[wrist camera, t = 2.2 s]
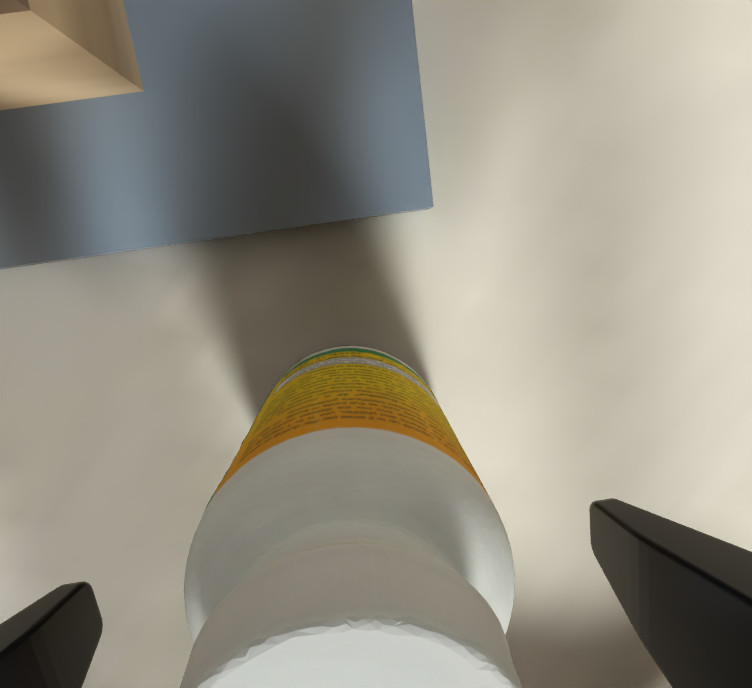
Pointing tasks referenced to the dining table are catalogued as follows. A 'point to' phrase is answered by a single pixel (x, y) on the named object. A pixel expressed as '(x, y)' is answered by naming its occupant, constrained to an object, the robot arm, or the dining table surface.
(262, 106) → the base
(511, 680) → the supplement bottle
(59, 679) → the robot arm
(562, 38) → the dining table surface
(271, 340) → the dining table surface
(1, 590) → the dining table surface
